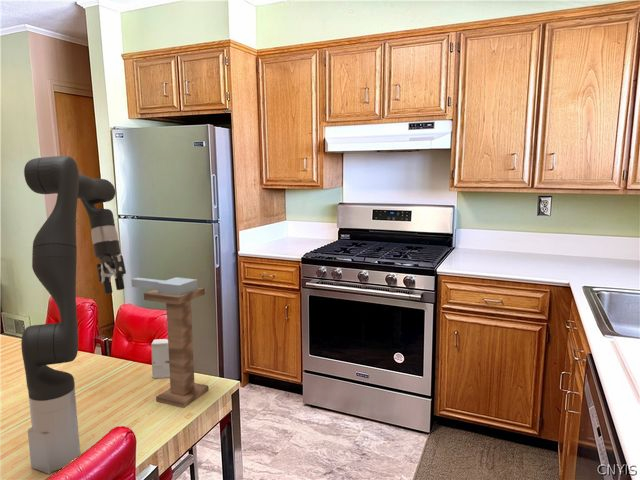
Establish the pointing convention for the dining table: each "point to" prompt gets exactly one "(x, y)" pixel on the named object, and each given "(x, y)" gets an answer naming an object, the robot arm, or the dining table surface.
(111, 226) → the robot arm
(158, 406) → the dining table surface
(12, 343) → the dining table surface
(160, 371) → the skincare box
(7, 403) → the dining table surface
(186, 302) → the brown wooden stand
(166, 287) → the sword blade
